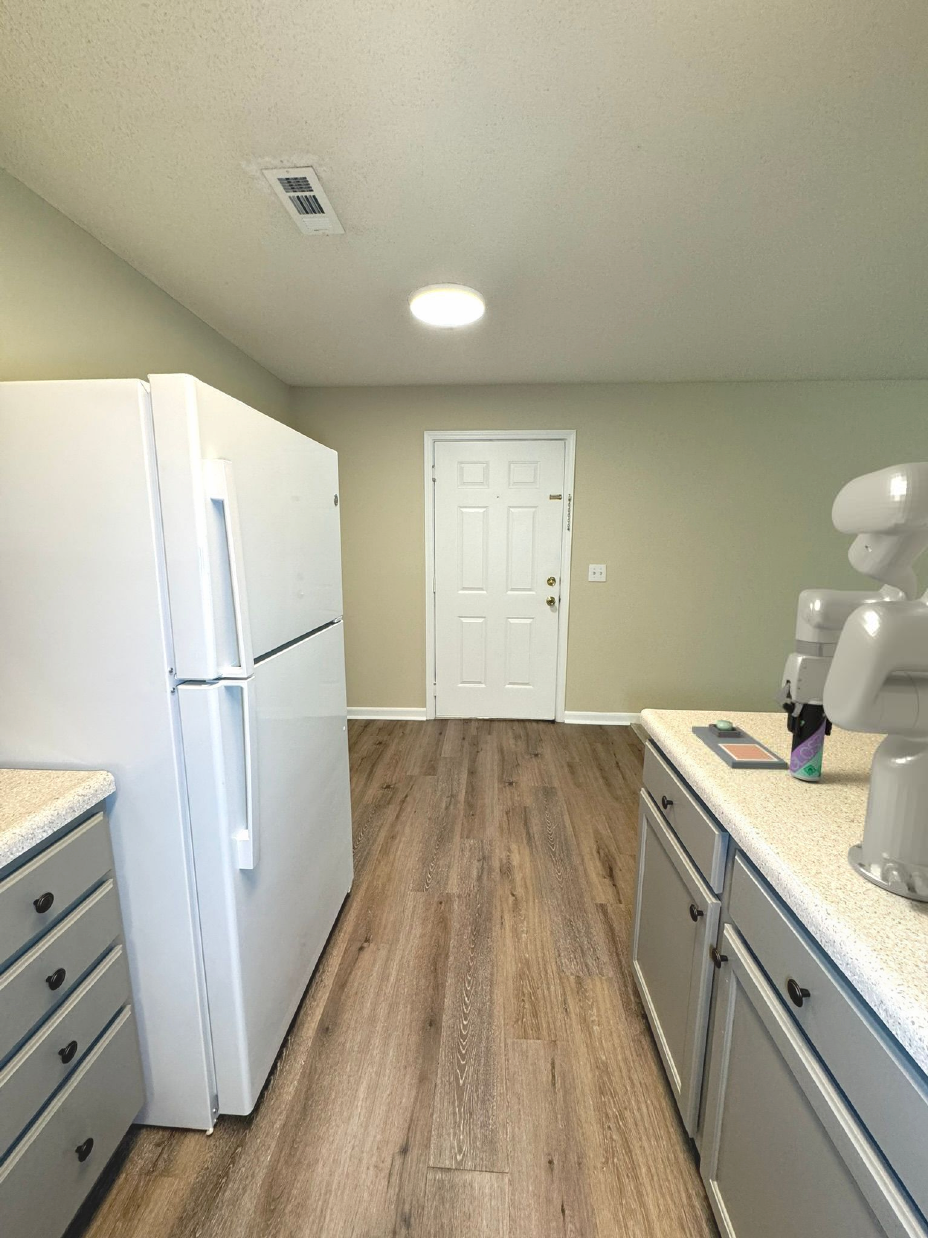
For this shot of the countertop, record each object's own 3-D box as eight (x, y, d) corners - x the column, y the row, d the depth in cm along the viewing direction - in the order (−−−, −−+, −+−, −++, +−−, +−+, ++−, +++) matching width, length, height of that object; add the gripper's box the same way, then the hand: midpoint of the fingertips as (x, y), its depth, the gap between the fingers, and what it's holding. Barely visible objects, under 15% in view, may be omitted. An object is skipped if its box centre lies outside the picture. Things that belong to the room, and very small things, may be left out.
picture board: (787, 769, 109) (788, 756, 109) (731, 768, 110) (732, 755, 109) (737, 732, 131) (738, 721, 130) (691, 731, 132) (692, 720, 131)
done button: (735, 731, 124) (735, 725, 124) (720, 731, 124) (720, 725, 124) (728, 726, 128) (728, 720, 127) (713, 725, 128) (714, 720, 128)
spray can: (790, 777, 104) (799, 685, 101) (788, 767, 109) (795, 679, 106) (822, 783, 101) (831, 689, 99) (818, 772, 106) (826, 682, 104)
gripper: (846, 646, 105) (838, 727, 107) (763, 645, 106) (757, 726, 108) (873, 653, 97) (864, 740, 100) (784, 652, 98) (776, 739, 101)
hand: (808, 732), depth 104 cm, fingers closed on spray can, 5 cm apart
